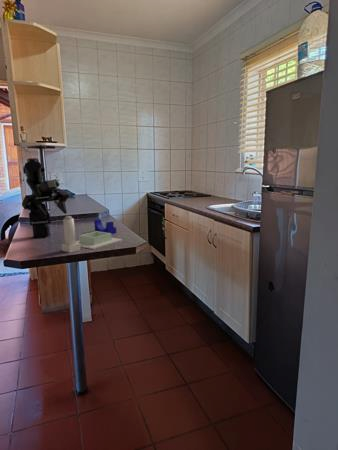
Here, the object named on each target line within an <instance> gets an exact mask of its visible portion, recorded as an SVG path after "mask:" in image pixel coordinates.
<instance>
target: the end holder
mask: <svg viewBox="0 0 338 450" xmlns="http://www.w3.org/2000/svg"><path fill="white" fill-rule="evenodd" d="M78 238H79V239H78V240H76V243H80V248H86V249H90V250H97V249H99V248H103V247H106V246H110V245H113V244H116V243H121V242H122V241H123V239H122V238H116V237H112V234H111V233H105V232H99V231H95V230H94V231H91V232H87V233H84V234H78Z"/></svg>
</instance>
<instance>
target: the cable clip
mask: <svg viewBox="0 0 338 450" xmlns="http://www.w3.org/2000/svg"><path fill="white" fill-rule="evenodd" d="M93 221H94V232H95V231H99V232H105V233H111V235H115V234H117V226H116V227H115V226H114V222H113V221H107V222H105V227H104V225H103V223H102V219H101V218H98V219H94V220H93Z"/></svg>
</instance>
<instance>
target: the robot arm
mask: <svg viewBox="0 0 338 450" xmlns="http://www.w3.org/2000/svg"><path fill="white" fill-rule="evenodd" d="M26 161H27V162H25V163H24V165H23V166H22V171H23V175H25V177H26V180H25V181H26V184H27V185H28V187H29V189H30V190H31V194H26V195H25V196H24V198H23V200H22V201H21V202H22V203H21V206H22V208H23V209H24V210H28V211H30V212H28V218H29V225H30V226H31V228H32V235H33V236H31V239H39V238H40V239H43V238H44V239H46V238H47V237H49V236H50V235H51V233H50V232H51V231H50V226H49V224H51V222H52V221H51V220H52V219H51V214H50V212H49V210H47V207H46V204H45V203H49V202H54V204H56V207H57V208H59V210H60V211H61V212H63V214H64V215H66V214H67V213H68V212H67V206H66V201H67V200H68V198H69V196H70V195H69V193H68V192H67V190H64V191H57V192H56V194H55V195H53V194H54V190H55V189H57V188H58V187H60V182H59V180H58V179H50V180H48V179H47V180H44V181H43V176H45V175H44V173H45V167H44V166H43V165H44V164H42V163H41V162H40V161H39V158H36V157H35V158H34V157H33V158H32V157H31V158H30V157H29V158H27V159H26Z"/></svg>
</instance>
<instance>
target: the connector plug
mask: <svg viewBox="0 0 338 450" xmlns="http://www.w3.org/2000/svg"><path fill="white" fill-rule="evenodd" d="M62 222H63V232H64V242H65V243H63V244H61V250H62V251H63V252H67V253H72V252H75V251H79V250H81V247H80V243H76V241H77V240H76V230H75V229H76V228H75V227H76V226H75V219H74V218H73V217H72V216H71V215H67V216H64V218H63V219H62Z"/></svg>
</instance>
